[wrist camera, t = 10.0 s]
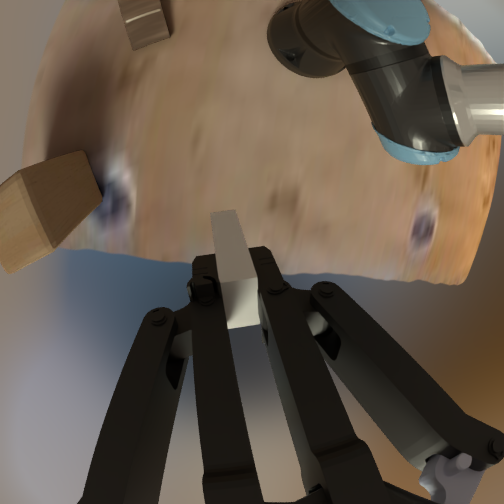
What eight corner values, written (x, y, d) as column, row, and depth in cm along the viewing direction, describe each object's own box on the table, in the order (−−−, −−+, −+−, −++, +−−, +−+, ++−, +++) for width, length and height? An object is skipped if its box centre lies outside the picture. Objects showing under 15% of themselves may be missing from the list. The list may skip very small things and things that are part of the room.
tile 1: (170, 37, 30) (154, -18, 21) (132, 50, 29) (116, -4, 21) (170, 37, 31) (155, -16, 23) (134, 50, 30) (118, -3, 22)
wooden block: (42, 173, 35) (-28, 208, 17) (85, 147, 36) (19, 167, 18) (63, 221, 40) (6, 279, 22) (106, 200, 40) (55, 252, 23)
